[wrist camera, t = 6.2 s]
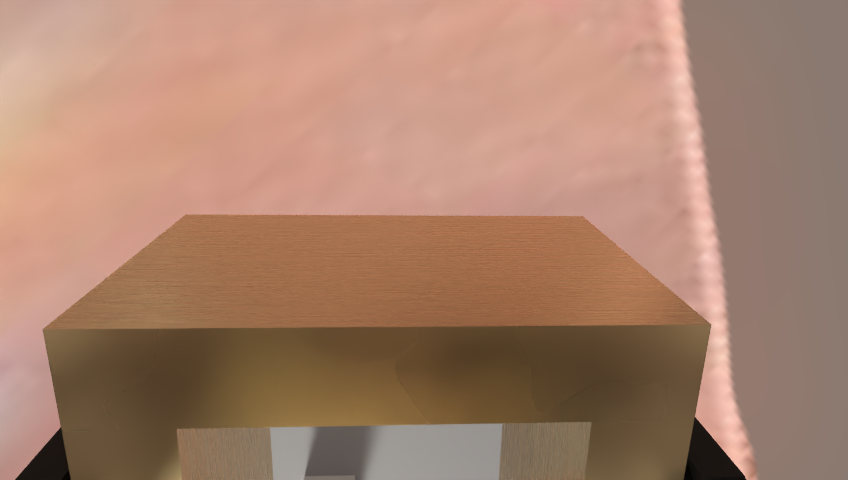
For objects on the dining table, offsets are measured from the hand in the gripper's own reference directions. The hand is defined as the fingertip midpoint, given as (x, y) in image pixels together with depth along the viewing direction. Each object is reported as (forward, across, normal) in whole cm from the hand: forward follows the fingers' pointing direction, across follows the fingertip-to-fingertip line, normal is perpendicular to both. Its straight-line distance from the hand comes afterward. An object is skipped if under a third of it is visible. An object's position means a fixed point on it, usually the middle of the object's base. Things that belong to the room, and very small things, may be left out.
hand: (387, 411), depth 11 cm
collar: (+1, 0, 0) cm, 1 cm away
